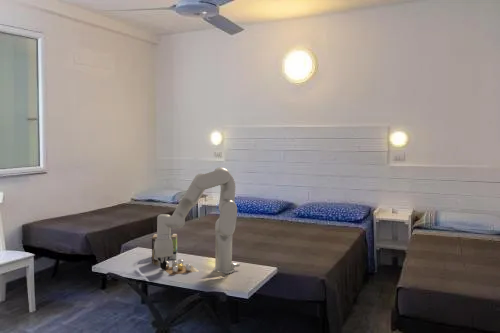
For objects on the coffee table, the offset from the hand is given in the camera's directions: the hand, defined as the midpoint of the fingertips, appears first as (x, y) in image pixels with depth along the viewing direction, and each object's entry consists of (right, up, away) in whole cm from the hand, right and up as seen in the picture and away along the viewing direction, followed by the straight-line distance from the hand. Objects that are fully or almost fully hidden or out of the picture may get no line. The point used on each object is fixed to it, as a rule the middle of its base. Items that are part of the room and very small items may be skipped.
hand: (163, 268), depth 239 cm
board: (+9, -3, +5) cm, 11 cm away
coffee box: (-5, -2, +16) cm, 17 cm away
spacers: (+7, -2, +4) cm, 8 cm away
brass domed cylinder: (+8, -2, +4) cm, 9 cm away
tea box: (-6, -1, +34) cm, 34 cm away
